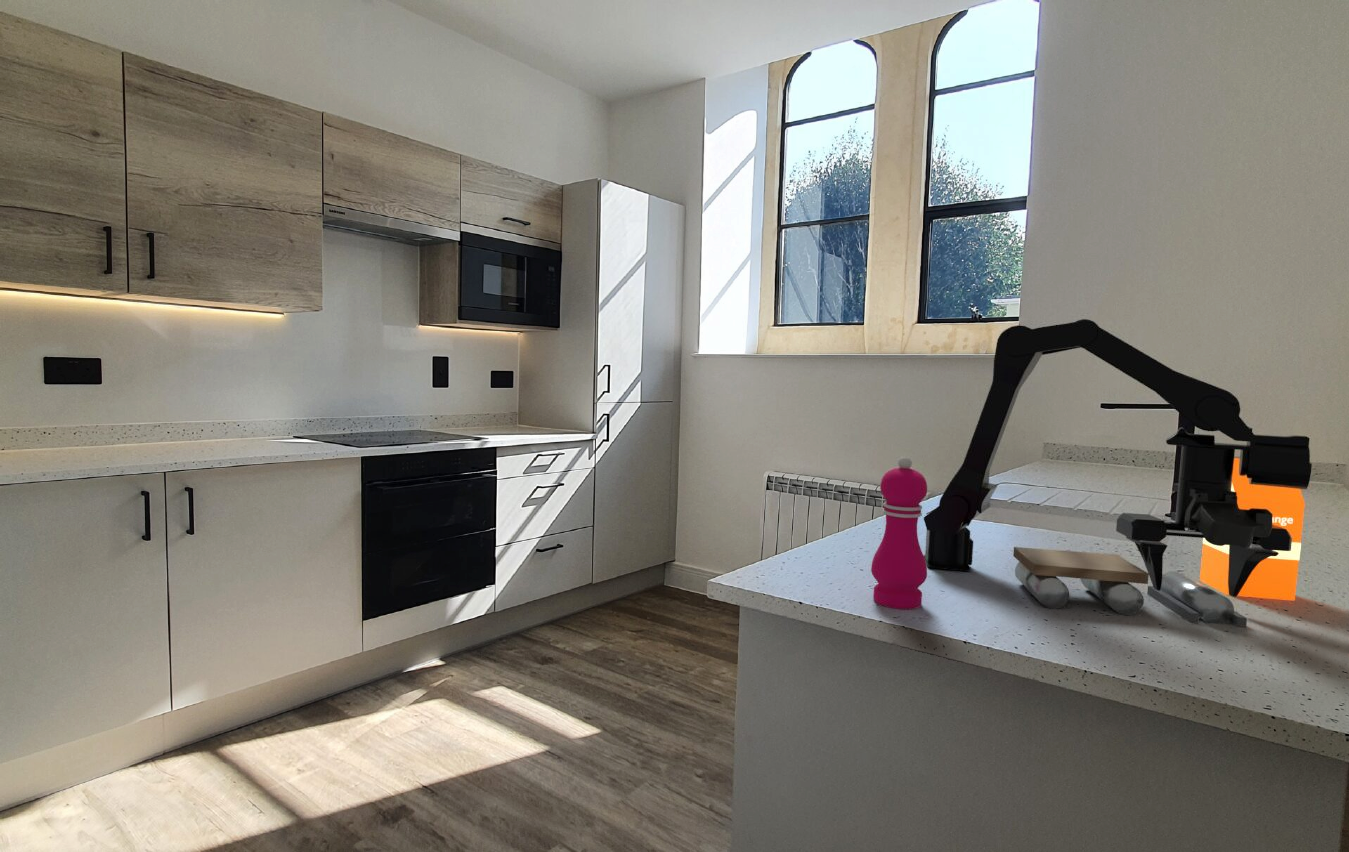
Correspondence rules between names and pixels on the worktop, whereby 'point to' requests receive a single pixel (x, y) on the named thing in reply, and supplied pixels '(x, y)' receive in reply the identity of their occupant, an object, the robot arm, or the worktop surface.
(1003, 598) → the worktop surface
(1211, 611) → the loose roller
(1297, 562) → the orange juice
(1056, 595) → the track rollers
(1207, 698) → the worktop surface
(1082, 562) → the walnut slab
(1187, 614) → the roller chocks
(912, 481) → the pepper mill
